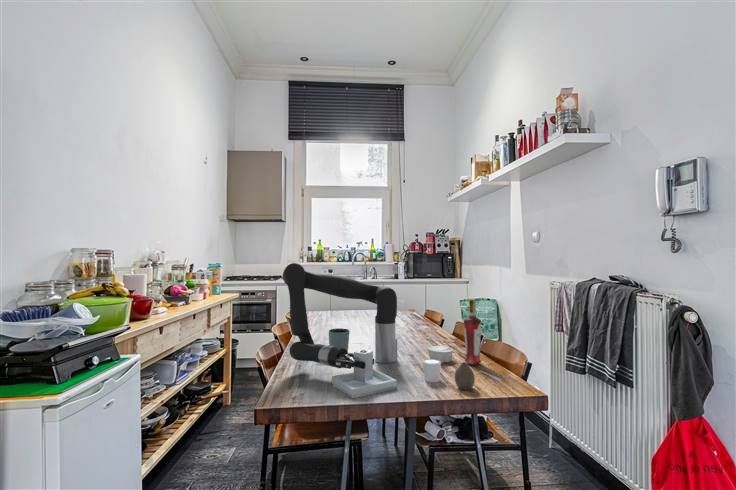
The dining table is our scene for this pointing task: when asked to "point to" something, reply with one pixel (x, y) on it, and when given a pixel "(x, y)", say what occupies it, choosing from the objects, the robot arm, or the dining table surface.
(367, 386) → the tray
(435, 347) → the ramekin
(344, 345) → the green cup
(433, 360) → the white cylinder
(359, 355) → the steel block
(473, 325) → the liquor
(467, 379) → the grey egg-shaped piece
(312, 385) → the dining table surface
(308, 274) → the robot arm
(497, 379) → the butter knife
